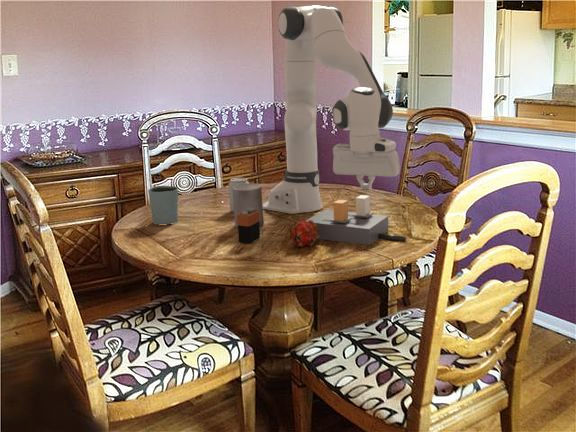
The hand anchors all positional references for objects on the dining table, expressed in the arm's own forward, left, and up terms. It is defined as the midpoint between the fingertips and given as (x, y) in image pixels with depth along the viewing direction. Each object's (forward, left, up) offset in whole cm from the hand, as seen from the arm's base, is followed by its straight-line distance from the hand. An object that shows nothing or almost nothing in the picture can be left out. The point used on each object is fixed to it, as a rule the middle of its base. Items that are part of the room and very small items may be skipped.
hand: (366, 189), depth 192 cm
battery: (-33, -14, -16) cm, 40 cm away
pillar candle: (-42, 0, -16) cm, 45 cm away
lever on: (-4, +8, -10) cm, 14 cm away
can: (-56, +16, -16) cm, 61 cm away
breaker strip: (-4, +4, -16) cm, 17 cm away
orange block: (-8, 0, -10) cm, 13 cm away
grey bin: (-72, -7, -16) cm, 74 cm away
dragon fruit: (-15, -12, -16) cm, 25 cm away
